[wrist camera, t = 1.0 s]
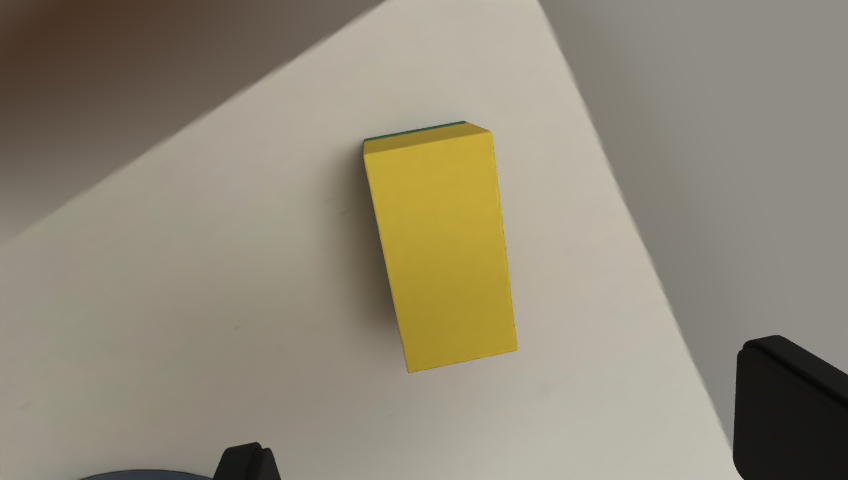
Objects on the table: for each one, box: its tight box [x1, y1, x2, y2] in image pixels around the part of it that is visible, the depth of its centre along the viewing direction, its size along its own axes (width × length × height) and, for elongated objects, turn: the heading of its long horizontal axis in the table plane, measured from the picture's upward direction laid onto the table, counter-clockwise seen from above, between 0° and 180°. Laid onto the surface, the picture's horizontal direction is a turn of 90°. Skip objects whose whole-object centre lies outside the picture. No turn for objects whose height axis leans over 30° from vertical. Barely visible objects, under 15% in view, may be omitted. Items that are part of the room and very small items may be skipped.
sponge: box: [363, 121, 517, 373], centre depth 21 cm, size 5×9×5 cm, turn 10°
